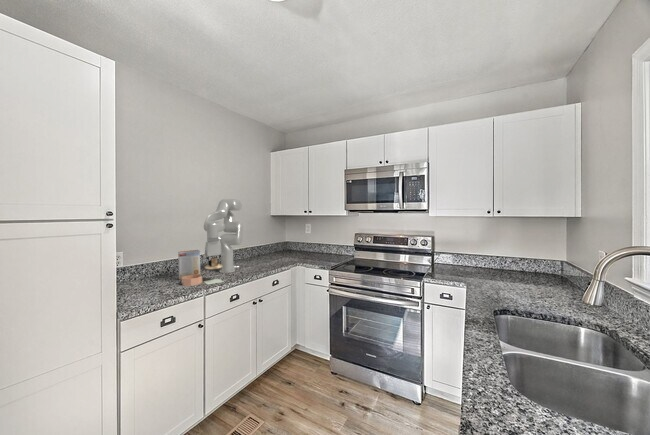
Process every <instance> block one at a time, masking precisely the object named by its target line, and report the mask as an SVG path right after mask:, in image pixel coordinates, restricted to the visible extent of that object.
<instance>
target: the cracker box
mask: <svg viewBox="0 0 650 435" xmlns="http://www.w3.org/2000/svg"><path fill="white" fill-rule="evenodd" d="M177 255H178V257H177V258H178V280H180V281H182V277H184V276H188V275H201V250H199V249H191V250H183V251H181V250H180V251H177Z"/></svg>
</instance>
